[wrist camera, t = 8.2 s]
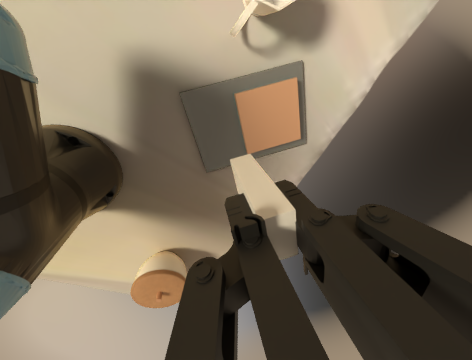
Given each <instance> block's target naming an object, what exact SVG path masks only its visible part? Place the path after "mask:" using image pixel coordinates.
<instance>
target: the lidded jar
mask: <svg viewBox="0 0 472 360" xmlns="http://www.w3.org/2000/svg"><path fill="white" fill-rule="evenodd" d="M186 276H187V271H186V266H185V264H184V262H183V261H182V259H181V258H180V257H178V256H177V255H176V254H175V253H173V252H170V251H162V252H158V253H156V254H155V255H153V256H151V257H150V258H148V259H147V260H146V261H145V262H144V263H143V264H142V266H141V267H140V269H139V270H138V273H137V275H136V278H135V280H134V283H133V285H132V288H131V296H132V299H133V300H134V301H135V302H136V303H137V304H140V305H141V306H144V307H149V308H163V307H168V306H171V305H174V304H176V303H177V302H179V301H180V299H181V295H182V291H183V288H184V284H185V280H186Z"/></svg>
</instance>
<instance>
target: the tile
mask: <svg viewBox="0 0 472 360" xmlns="http://www.w3.org/2000/svg"><path fill="white" fill-rule="evenodd" d="M233 95H234V100H235V104H236V109H237V114H238V118H239V123H240V128H241V132H242V137H243V141H244V146H245V151H246V152H247V154H251V153H254V152H257V151H261V150H264V149H268V148H271V147H274V146H278V145H281V144H285V143H288V142H292V141H295V140H298V139H301V134H300V117H299V100H298V83H297V77H292V78H288V79H285V80H281V81H277V82H274V83H270V84H266V85H263V86H259V87H255V88H252V89H248V90H244V91H241V92H237V93H233Z"/></svg>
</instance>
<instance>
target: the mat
mask: <svg viewBox="0 0 472 360" xmlns="http://www.w3.org/2000/svg"><path fill="white" fill-rule="evenodd" d="M292 77H297V83H298V100H299V117H300V134H301V139H298V140H295V141H292V142H288V143H285V144H281V145H278V146H274V147H271V148H268V149H264V150H261V151H257V152H254V153H251V155H252V156H253V158H254V159H255V158H258V157H262V156H265V155H268V154H272V153H275V152H279V151H282V150H285V149H289V148H292V147H296V146H299V145H302V144H306V128H305V105H304V83H303V61H298V62H294V63H290V64H287V65H283V66H279V67H275V68H272V69H268V70H264V71H260V72H257V73H253V74H249V75H245V76H242V77H238V78H234V79H230V80H227V81H223V82H219V83H216V84H212V85H208V86H204V87H201V88H197V89H193V90H189V91H186V92H182V93H179V94H180V97H181V99H182V102H183V105H184V108H185V111H186V114H187V117H188V120H189V123H190V125H191V128H192V131H193V134H194V137H195V140H196V143H197V146H198V149H199V151H200V154H201V157H202V160H203V163H204V166H205V169H206V172H211V171H214V170H218V169H221V168H224V167H228V166H231V163H230V159H233V158H237V157H240V156H244V155H247V152H246V151H245V146H244V141H243V137H242V132H241V128H240V123H239V118H238V114H237V109H236V104H235V100H234V95H233V93H237V92H241V91H244V90H248V89H252V88H255V87H259V86H263V85H266V84H270V83H274V82H277V81H281V80H285V79H288V78H292Z"/></svg>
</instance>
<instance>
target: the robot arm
mask: <svg viewBox="0 0 472 360" xmlns="http://www.w3.org/2000/svg"><path fill="white" fill-rule="evenodd" d="M36 84H38V79H37V77H36V76H34V74H33V69H32V65H31V61H30V57H29V53H28V49H27V44H26V39H25V35H24V33H23V30H22V28H21V26H20V25H19V23H18V22H17V20H16V19H15V18H14V17H13V16H12V15H11V13H10V12H9V11H8V10H7V9H5V8H4V7H3V6H2V5H1V4H0V319H1V318H2V317H3V316H4V315H5V314H6V313H7V312H8V311H9V310H10V309H11V308H12V306H13V305H15V304H16V302H17V301H18V300H19V299H20V298H21V297H22V296H23V295H24V294H26V293H27V292H28V291H29V289H30V288H31V284H32V283H33V282H34V280H35V279H36V278H37V277H38V275H39V274H40V273H41V272H42V270H43V269H44V268H45V267H46V265H47V264H48V263H49V262H50V260H51V259H52V258H53V257H54V255H55V254H56V253H57V251H58V250H59V249H60V248H61V246H62V245H63V244H64V243H65V241H66V240H67V239H68V238H69V236H70V235H71V234H72V233H73V231H74V230H75V229H76V228H77V226H78V225H79V224H80V223H81V221H82V220H84V219H86V218H88V217H89V216H91V215H93V214H95V213H96V212H98V211H100V210H102V209H104V208H105V207H106V206H108V205H109V204H110V203H111V202H112V201H113V199H114V198H115V197H116V195H117V194H118V192H119V190H120V188H121V185H122V180H123V175H122V169H121V166H120V164H119V161H118V159H117V158H116V156H115V155H114V153H113V152H112V151H111V150H110V149H109V148H108V147H107V146H106V145H105V144H104V143H103V142H102V141H100V140H99V139H97V138H96V137H94V136H93V135H91V134H89V133H87V132H85V131H82V130H80V129H77V128H73V127H69V126H64V125H43V126H42V125H41V118H40V111H39V104H38V97H37V90H36ZM230 163H231V167H232V171H233V175H234V179H235V183H236V187H237V191H238V194H239V195H235V196H232V197H229V198H227V199H226V202H225V208H226V211H227V215H228V219H229V222H230V226H231V233H232V236H233V239H234V241H233V245H232V247H231V248H230V250H229V251H228V252H227V253H226V254H224V255H223V256H221V257H220V258H218V259H215V258H213V257H206V258H203V259H200V260H198V261H197V262H195V263H194V264H193V265H192V267H191V268H190V269H189V271H188V273H187V276H186V280H185V284H184V288H183V291H182V295H181V299H180V303H179V307H178V311H177V315H176V318H175V322H174V326H173V330H172V334H171V338H170V341H169V345H168V349H167V353H166V357H165V360H237V338H238V336H237V334H238V309H239V308H241V307H242V306H243V305H244V304H246V303H247V302H248V301H249V300H251V303H252V307H253V310H254V314H255V318H256V322H257V325H258V329H259V332H260V336H261V340H262V343H263V347H264V350H265V354H266V358H267V360H329V358H328V356H327V354H326V352H325V350H324V348H323V346H322V344H321V342H320V340H319V338H318V336H317V334H316V332H315V330H314V328H313V326H312V324H311V322H310V320H309V318H308V316H307V314H306V312H305V310H304V308H303V306H302V304H301V302H300V300H299V298H298V296H297V294H296V292H295V290H294V288H293V286H292V284H291V282H290V280H289V278H288V276H287V274H286V272H285V270H284V268H283V266H282V264H281V262H280V260H283V259H286V258H288V257H291V256H294V255H297V254H298V247H299V249H300V250H301V252H302V253H303V262H304V272H305V275H307V274H308V270H309V272H310V273H311V275H312V276H313V278H314V280H315V281H316V283H317V284H318V286H319V288H320V289H321V291H322V293H323V294H324V296H325V298H326V299H327V301H328V302H329V304H330V306H331V307H332V309H333V310H334V312H335V314H336V315H337V317H338V318H339V320H340V322H341V324H342V325H343V327H344V328H345V330H346V332H347V333H348V335H349V336H350V338H351V340H352V341H353V343H354V344H355V346H356V348H357V350H358V351H359V353H360V354H361V356H362V358H363V359H364V360H472V246H471V245H469V244H466V243H464V242H462V241H460V240H458V239H456V238H453V237H451V236H449V235H447V234H445V233H442V232H440V231H438V230H436V229H434V228H432V227H429V226H427V225H425V224H423V223H421V222H418V221H416V220H414V219H412V218H410V217H408V216H405V215H403V214H401V213H399V212H397V211H395V210H392V209H390V208H388V207H385V206H382V205H376V204H368V205H363V206H361V207H360V208H359V209H358V210H357V215H349V216H348V215H347V216H335V215H334V214H332V213H331V212H330V211H327V210H325V209H319V208H317V207H316V206H315V205H314V204H313V203H312V202H311V201H310V200H309V199H308V198H307V197H306V196H305V195H304V194H303V193H302V192H301V191H300V190H299V189H298V188H297V187H296V186H295V185H294V184H293V183H291V182H289V181H287V180H283V181H280V182H276V183H274V182H273V181H272V180H271V179H270V177H269V176H268V175H267V174H266V172H265V171H264V170H263V169H262V167H261V166H260V165H259V164H258V163H257V161H256V160H255V159H254V158H253V156H252V155H251V154H247V155H244V156H240V157H237V158H233V159H230ZM391 250H393V251H395V252H396V253H398V254H399V255H397V254H394V253H392V252H390V251H391Z"/></svg>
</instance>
